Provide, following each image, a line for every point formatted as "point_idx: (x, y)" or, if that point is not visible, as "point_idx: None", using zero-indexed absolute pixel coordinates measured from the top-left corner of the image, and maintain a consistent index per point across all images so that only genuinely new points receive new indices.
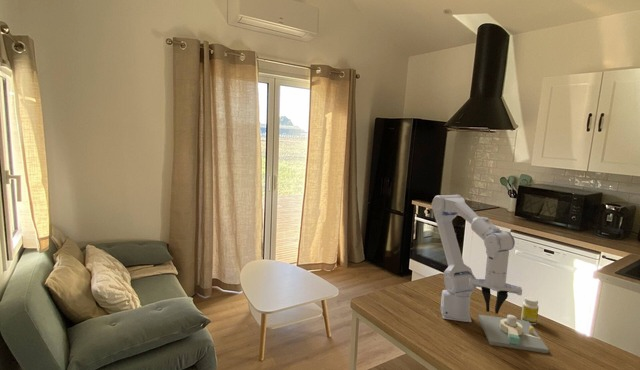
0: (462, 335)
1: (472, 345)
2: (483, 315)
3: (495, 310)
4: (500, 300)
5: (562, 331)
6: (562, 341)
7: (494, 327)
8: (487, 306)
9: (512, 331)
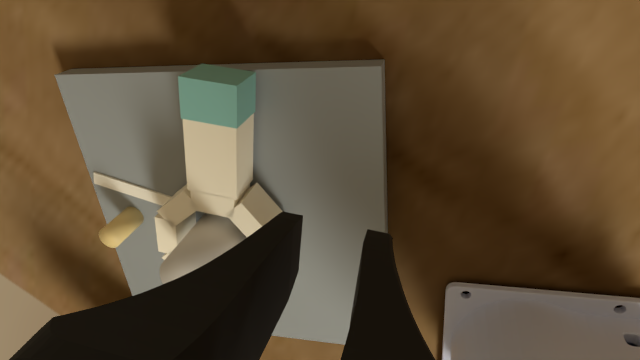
0: (566, 124)
1: (527, 4)
2: None
3: (295, 248)
4: (185, 306)
5: (24, 275)
6: (20, 198)
7: (319, 236)
8: (384, 267)
9: (214, 162)
